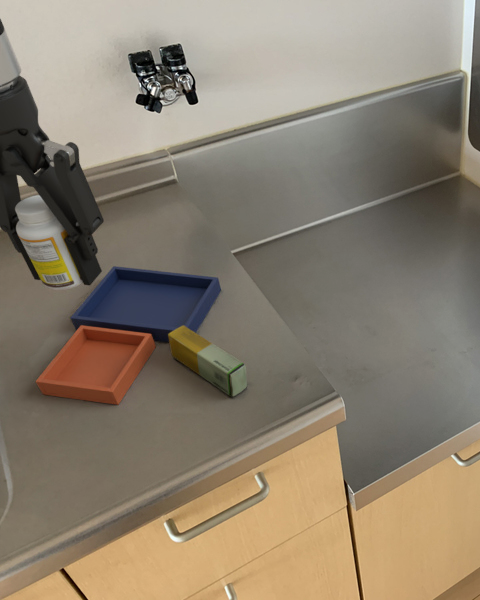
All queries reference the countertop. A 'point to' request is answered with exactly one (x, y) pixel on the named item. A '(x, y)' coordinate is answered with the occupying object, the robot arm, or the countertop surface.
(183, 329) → the medication box
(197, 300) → the navy tray
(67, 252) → the supplement bottle
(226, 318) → the countertop surface
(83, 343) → the terracotta tray
